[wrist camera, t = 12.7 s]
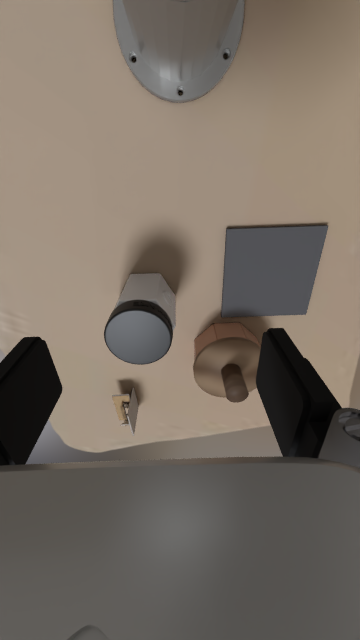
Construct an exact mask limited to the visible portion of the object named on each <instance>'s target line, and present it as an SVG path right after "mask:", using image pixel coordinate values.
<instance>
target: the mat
mask: <svg viewBox="0 0 360 640" xmlns="http://www.w3.org/2000/svg"><path fill="white" fill-rule="evenodd" d="M327 230H328V226H327V225H314V226H285V227H257V228H229V229H226V242H225V259H224V276H223V293H222V310H221V317H247V316H276V315H305V314H306V313H307V309H308V305H309V301H310V297H311V293H312V289H313V285H314V281H315V277H316V273H317V269H318V265H319V261H320V257H321V253H322V249H323V245H324V241H325V237H326V233H327Z"/></svg>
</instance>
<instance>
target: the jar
mask: <svg viewBox="0 0 360 640" xmlns="http://www.w3.org/2000/svg"><path fill="white" fill-rule="evenodd" d="M175 326H176V297H175V294H174V293H173V292H172V290H171V289H170V287H169V286H168V284H167V283H166V281H165V280H164V278H163V277H162V275H161V274H160V273H149V274H130V276H129V278H128V280H127V282H126V284H125V286H124V288H123V290H122V293H121V295H120V297H119V299H118V301H117V303H116V306H115V308H114V310H113V312H112V313H111V315H110V317H109V320H108V322H107V324H106V327H105V331H104V338H105V342H106V345H107V347H108V348H109V350H110V351H111V352H112V353H113V354H114V355H115V356H116V357H118V358H119V359H121V360H123V361H125V362H128V363H132V364H149V363H152V362H155V361H157V360H159V359H161V358H162V357H163V356H164V355H165V354H166V353H167V352H168V350H169V348H170V346H171V343H172V338H173V330H174V328H175Z"/></svg>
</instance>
